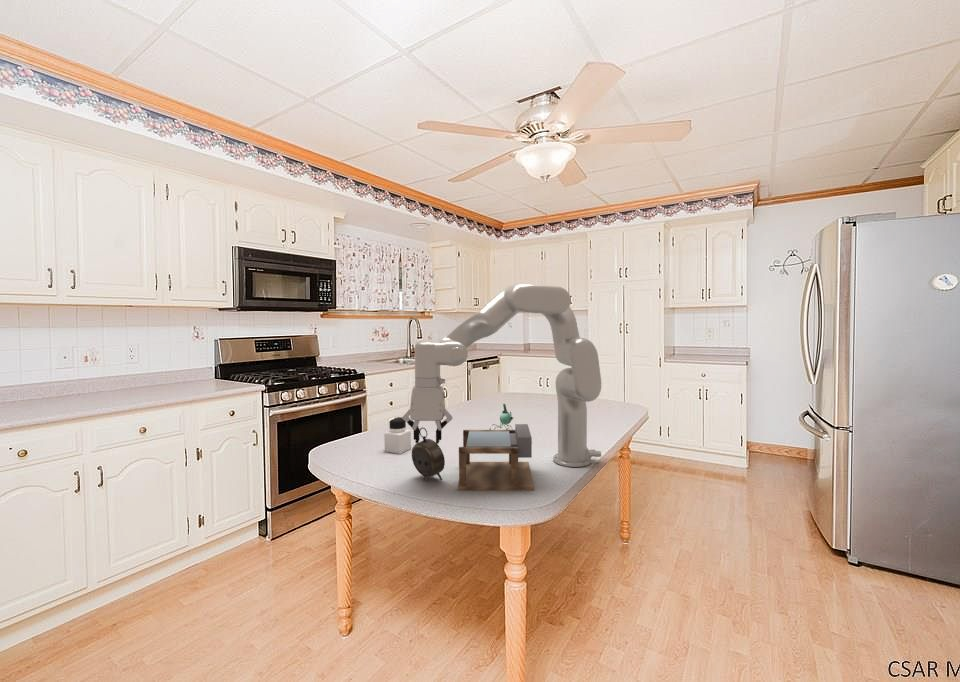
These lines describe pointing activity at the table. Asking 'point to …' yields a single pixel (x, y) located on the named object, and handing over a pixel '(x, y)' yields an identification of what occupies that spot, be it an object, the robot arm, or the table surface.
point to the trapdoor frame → (492, 469)
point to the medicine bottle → (397, 436)
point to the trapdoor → (504, 439)
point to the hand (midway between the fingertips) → (427, 441)
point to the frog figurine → (505, 418)
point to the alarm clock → (428, 457)
